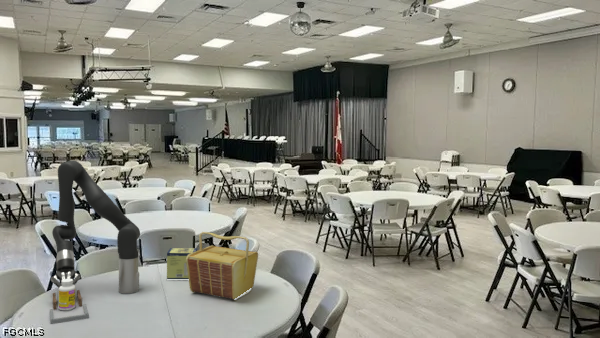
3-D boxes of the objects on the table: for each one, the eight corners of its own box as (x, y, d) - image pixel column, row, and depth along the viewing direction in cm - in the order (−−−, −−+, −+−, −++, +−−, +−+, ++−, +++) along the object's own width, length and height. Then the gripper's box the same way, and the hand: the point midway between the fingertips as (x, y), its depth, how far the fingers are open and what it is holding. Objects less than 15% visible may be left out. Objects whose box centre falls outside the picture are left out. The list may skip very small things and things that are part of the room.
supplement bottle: (68, 311, 202) (68, 283, 201) (55, 310, 203) (55, 281, 202) (78, 306, 209) (78, 278, 208) (65, 304, 210) (65, 277, 209)
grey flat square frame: (85, 307, 208) (85, 304, 208) (88, 317, 196) (88, 314, 196) (49, 312, 201) (49, 309, 200) (50, 323, 189) (50, 320, 189)
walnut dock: (79, 296, 220) (79, 289, 220) (81, 306, 209) (81, 298, 209) (52, 300, 215) (52, 293, 214) (53, 310, 203) (53, 302, 203)
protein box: (169, 275, 259) (169, 247, 258) (197, 275, 261) (198, 248, 260) (166, 280, 249) (166, 252, 248) (195, 280, 250) (195, 252, 249)
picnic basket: (183, 295, 227) (184, 235, 225) (211, 280, 251) (213, 226, 249) (234, 305, 217) (236, 242, 214) (259, 289, 240) (261, 232, 238)
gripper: (49, 258, 213) (50, 293, 203) (81, 256, 220) (82, 289, 210) (49, 267, 218) (49, 300, 208) (80, 264, 225) (82, 296, 215)
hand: (66, 295), depth 209 cm, fingers closed
